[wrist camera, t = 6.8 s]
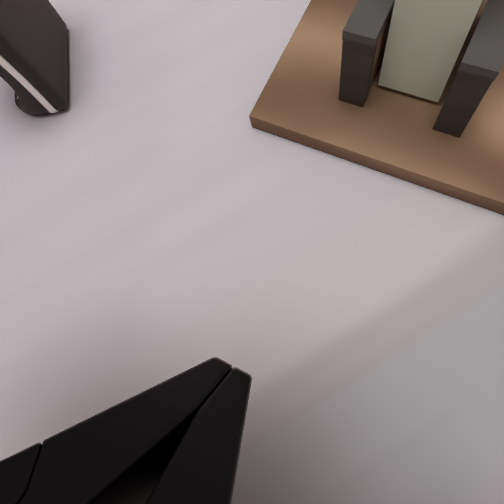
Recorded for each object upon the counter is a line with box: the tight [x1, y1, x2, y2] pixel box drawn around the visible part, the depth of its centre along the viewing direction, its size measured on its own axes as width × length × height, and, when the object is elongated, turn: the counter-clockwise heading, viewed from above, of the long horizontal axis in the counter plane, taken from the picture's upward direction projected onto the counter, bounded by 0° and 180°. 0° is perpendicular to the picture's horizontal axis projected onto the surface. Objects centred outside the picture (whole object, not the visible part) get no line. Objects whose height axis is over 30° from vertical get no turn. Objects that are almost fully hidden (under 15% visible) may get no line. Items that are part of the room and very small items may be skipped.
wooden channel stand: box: [249, 0, 504, 214], centre depth 20 cm, size 16×14×6 cm
